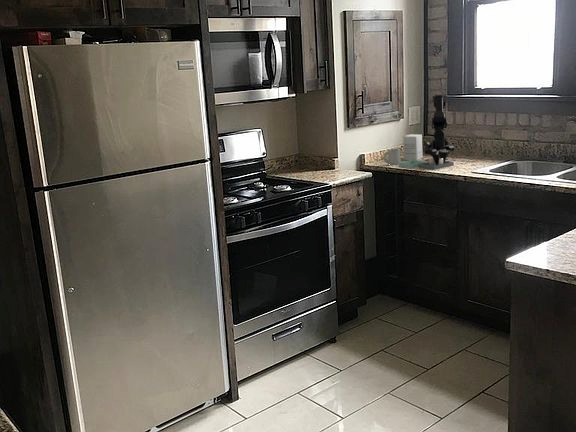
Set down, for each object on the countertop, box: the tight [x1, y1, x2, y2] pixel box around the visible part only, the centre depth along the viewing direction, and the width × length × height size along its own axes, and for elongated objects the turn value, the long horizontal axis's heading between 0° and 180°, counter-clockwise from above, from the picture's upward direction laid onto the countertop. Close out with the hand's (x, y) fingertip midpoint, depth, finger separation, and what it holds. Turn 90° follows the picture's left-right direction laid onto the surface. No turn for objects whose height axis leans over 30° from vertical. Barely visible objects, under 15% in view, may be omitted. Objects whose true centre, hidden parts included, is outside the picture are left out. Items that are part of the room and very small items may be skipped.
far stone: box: [428, 156, 436, 166], centre depth 363 cm, size 4×4×5 cm
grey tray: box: [418, 160, 454, 171], centre depth 362 cm, size 16×12×2 cm
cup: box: [383, 148, 401, 166], centre depth 379 cm, size 7×10×9 cm
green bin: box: [398, 159, 427, 169], centre depth 368 cm, size 11×11×3 cm
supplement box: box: [402, 133, 424, 161], centre depth 393 cm, size 9×9×15 cm
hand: (439, 165), depth 359 cm, fingers closed on near stone, 4 cm apart
